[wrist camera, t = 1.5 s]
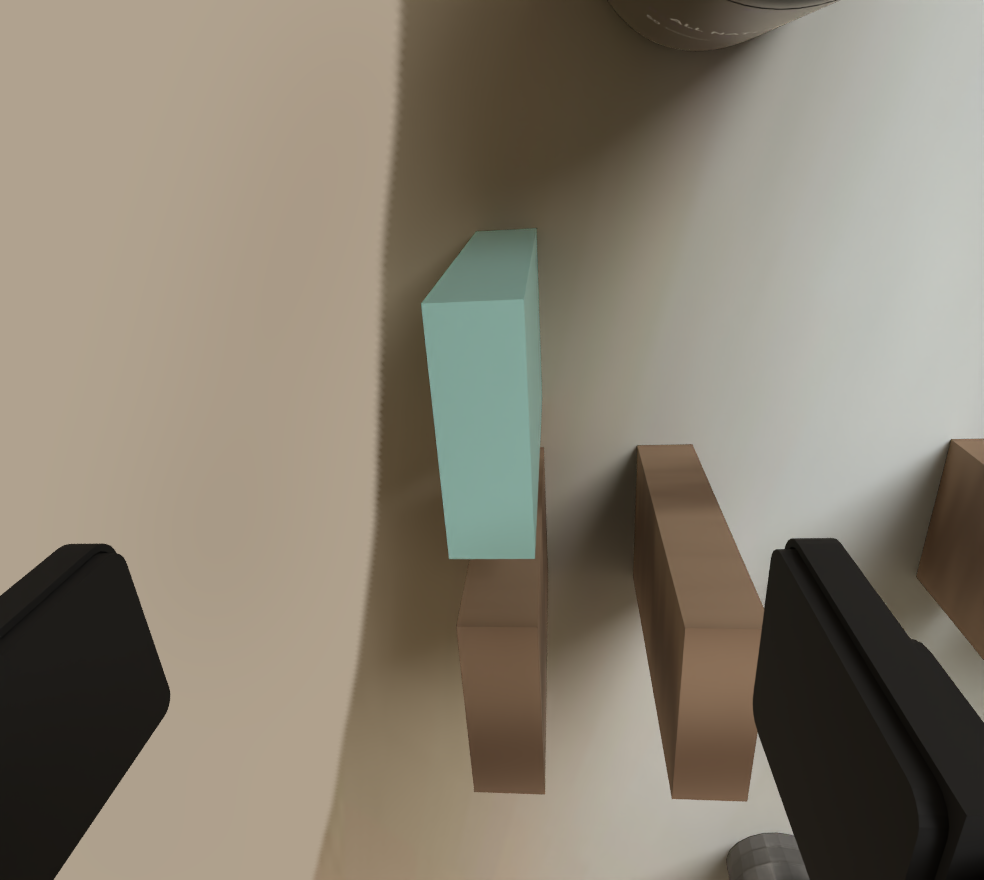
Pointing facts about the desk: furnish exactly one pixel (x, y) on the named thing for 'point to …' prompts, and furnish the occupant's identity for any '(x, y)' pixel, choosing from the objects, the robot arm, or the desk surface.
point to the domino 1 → (507, 665)
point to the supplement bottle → (710, 19)
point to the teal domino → (487, 394)
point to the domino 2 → (695, 626)
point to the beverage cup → (766, 859)
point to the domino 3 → (958, 541)
